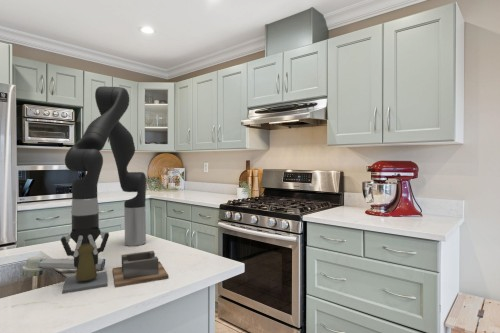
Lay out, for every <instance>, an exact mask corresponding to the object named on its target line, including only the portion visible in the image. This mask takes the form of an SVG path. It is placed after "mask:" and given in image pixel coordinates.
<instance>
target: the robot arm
mask: <svg viewBox="0 0 500 333" xmlns="http://www.w3.org/2000/svg"><path fill="white" fill-rule="evenodd" d="M94 92H95V93H94V98H95V103H96V107H97V109H98V112H99V114H100V115H98V117H96V118H95V119H93V120H92V121H91V122H90V123H89V124H88V126H87V127H86V130H85V131H84V133H83V135H82V136H81V138H80V139H78V140H77V141H76V142H75V143H74V144H73V145H72V146H71V147H70V148H69V149H68V150H67V152H66V154H65V156H64V164H65V167H66V169H68V170H69V171H72V172H86V174H85V176H84V177H82V178H78V179H76V180H74V181H72V182H71V183H72V184H71V198H72V199H71V210H70V214H71V231H70V234H68V235H62V237H61V238H60V243H61V245H62V247H63V249H64V252H65V254H66V256H69V257H73V258H74V267H77V268H78V263H79V253H78V249H79V247H80V246H81V244H83V243H90V244H91V245H92V246H93V248H94V251H93V253H94V255H93V259H94V264H95V266H96V264H98V259H99V253H102V252H105V248H106V245H107V242H108V240H109V237H110V233H109V232H108V231H101V229H100V225H99V224H100V223H99V222H100V221H99V219H100V218H99V200H98V183H99V179H100V174H101V171H102V169H103V168H102V167H103V164H104V157H103V155H102V153H101V151H102V150H103V149H104V147H105V145H106V143H107V141H108V142H109V145H110V148H111V152H112V154H113V157H114V162H115V165H116V168H117V169H116V170H117V174H118V180H119V184H120V189H121V190H122V192H125V193H136V195H135V196H134V197H132V198H130V199H126V200H124V202H123V204H124V205H123V206H124V210H123V211H124V213H123V214H124V245H125V246H127V247H128V246H130V247H137V246H142V245H145V244H146V243H147V231H146V230H147V220H146V212H147V211H146V198H147V197H146V196H147V195H146V192H147V190H146V189H147V177H146V174H145V173H144V172H143V171H135V172H134V171H133V172H132V171H130V172H129V171H128V166H129V164H130V163H131V160H132V158H133V157H134V155H135V152H136V147H135V146H136V145H135V142H134V137H133V135H132V133H131V132H130V131H129V130H128V129H127V128H126V127H125V126H124V125H123V124H122V123H121V122H120V119H122V117H123V115H124V114H125V113H126V112H127V110H128V109H129V105H130V95H129V92H128V90H127V88H124V87H122V86H120V87H119V86H98V87H97V88H96V89H95V91H94ZM99 236H101V237H100V238H101V239H102V240H101V244H100V246H99V247H97V244H96V240H97V239H98V238H99ZM71 239H72V240H73V242H74V243H76V244H75V248H74V250H72V249H71V246H70V244H69V243H70V241H71ZM78 245H79V246H78Z"/></svg>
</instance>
